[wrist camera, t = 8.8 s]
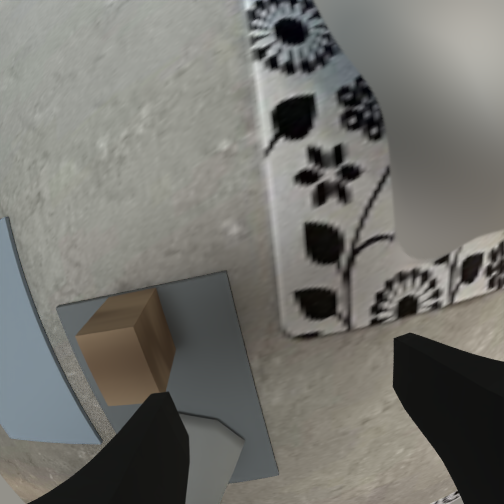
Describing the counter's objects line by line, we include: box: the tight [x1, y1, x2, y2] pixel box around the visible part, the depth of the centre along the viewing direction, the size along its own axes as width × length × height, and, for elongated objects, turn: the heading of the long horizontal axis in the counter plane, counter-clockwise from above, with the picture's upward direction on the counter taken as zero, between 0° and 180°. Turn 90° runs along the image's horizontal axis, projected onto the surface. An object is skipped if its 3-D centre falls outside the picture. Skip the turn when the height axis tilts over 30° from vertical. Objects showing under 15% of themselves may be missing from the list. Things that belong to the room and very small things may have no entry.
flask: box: [179, 414, 245, 504], centre depth 15 cm, size 7×7×10 cm
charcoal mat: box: [56, 271, 279, 484], centre depth 17 cm, size 18×11×5 cm, turn 12°
